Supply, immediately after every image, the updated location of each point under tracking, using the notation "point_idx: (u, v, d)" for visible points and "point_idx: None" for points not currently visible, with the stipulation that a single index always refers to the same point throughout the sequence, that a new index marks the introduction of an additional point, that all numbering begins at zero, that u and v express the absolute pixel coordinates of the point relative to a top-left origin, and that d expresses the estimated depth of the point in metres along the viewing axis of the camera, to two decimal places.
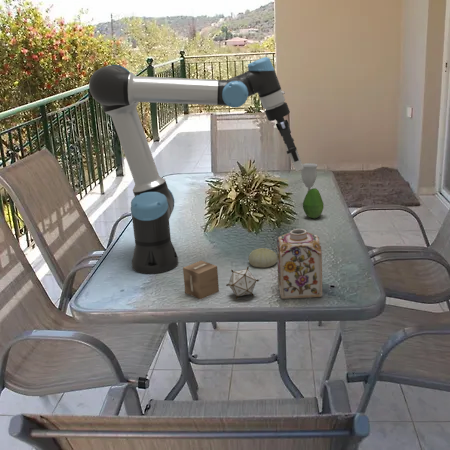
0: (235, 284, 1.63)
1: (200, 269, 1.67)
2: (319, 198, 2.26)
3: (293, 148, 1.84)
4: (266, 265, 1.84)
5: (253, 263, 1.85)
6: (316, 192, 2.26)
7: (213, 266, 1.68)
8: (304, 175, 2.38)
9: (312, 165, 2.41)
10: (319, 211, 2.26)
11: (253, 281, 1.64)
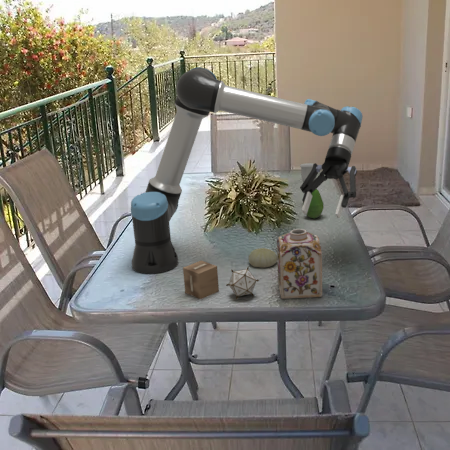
0: (235, 284, 1.63)
1: (200, 269, 1.67)
2: (319, 198, 2.26)
3: (355, 194, 1.74)
4: (266, 265, 1.84)
5: (253, 263, 1.85)
6: (316, 192, 2.26)
7: (213, 266, 1.68)
8: (304, 175, 2.38)
9: (312, 165, 2.41)
10: (319, 211, 2.26)
11: (253, 281, 1.64)
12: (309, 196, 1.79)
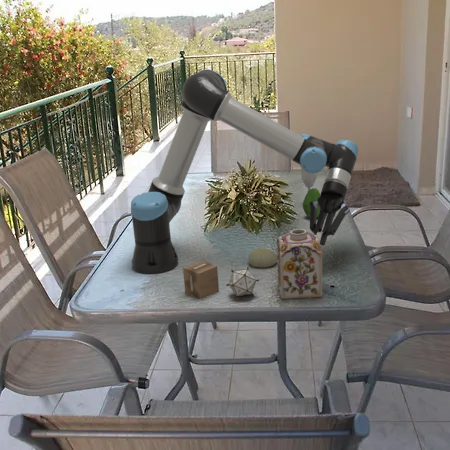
0: (235, 284, 1.63)
1: (200, 269, 1.67)
2: None
3: (333, 233, 1.76)
4: (266, 265, 1.84)
5: (253, 263, 1.85)
6: (316, 192, 2.26)
7: (213, 266, 1.68)
8: (304, 175, 2.38)
9: None
10: (319, 211, 2.26)
11: (253, 281, 1.64)
12: None
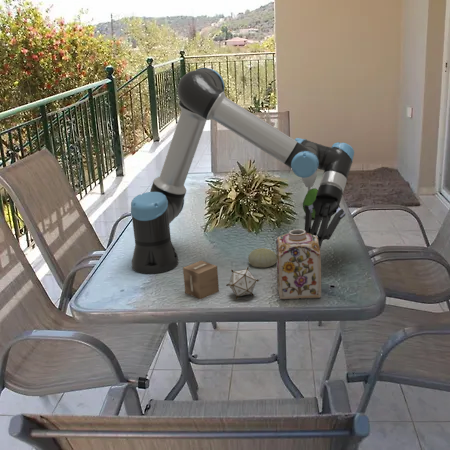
0: (235, 284, 1.63)
1: (200, 269, 1.67)
2: None
3: (328, 237, 1.73)
4: (266, 265, 1.84)
5: (253, 263, 1.85)
6: (316, 192, 2.26)
7: (213, 266, 1.68)
8: None
9: None
10: None
11: (253, 281, 1.64)
12: None
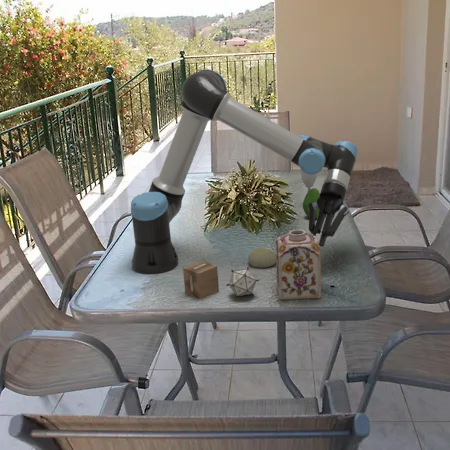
0: (235, 284, 1.63)
1: (200, 269, 1.67)
2: None
3: (332, 234, 1.75)
4: (266, 265, 1.84)
5: (253, 263, 1.85)
6: (316, 192, 2.26)
7: (213, 266, 1.68)
8: (304, 175, 2.38)
9: None
10: None
11: (253, 281, 1.64)
12: None
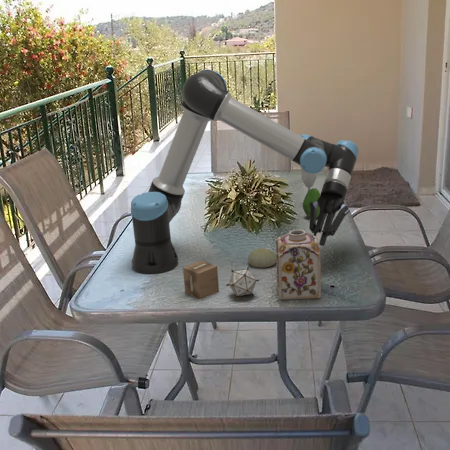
0: (235, 284, 1.63)
1: (200, 269, 1.67)
2: None
3: (333, 233, 1.76)
4: (266, 265, 1.84)
5: (253, 263, 1.85)
6: (316, 192, 2.26)
7: (213, 266, 1.68)
8: (304, 175, 2.38)
9: None
10: (319, 211, 2.26)
11: (253, 281, 1.64)
12: None
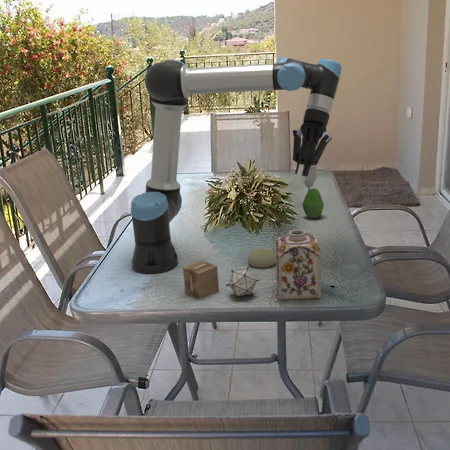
0: (235, 284, 1.63)
1: (200, 269, 1.67)
2: (319, 198, 2.26)
3: (315, 163, 1.77)
4: (265, 265, 1.84)
5: (252, 263, 1.85)
6: (316, 192, 2.26)
7: (213, 266, 1.68)
8: None
9: None
10: (319, 211, 2.26)
11: (253, 281, 1.64)
12: None
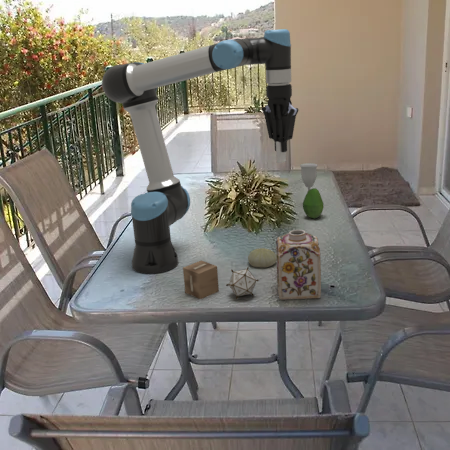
0: (235, 284, 1.63)
1: (200, 269, 1.67)
2: (319, 198, 2.26)
3: (290, 138, 1.76)
4: (265, 265, 1.84)
5: (252, 263, 1.85)
6: (316, 192, 2.26)
7: (213, 266, 1.68)
8: (304, 175, 2.38)
9: (312, 165, 2.41)
10: (319, 211, 2.26)
11: (253, 281, 1.64)
12: None
